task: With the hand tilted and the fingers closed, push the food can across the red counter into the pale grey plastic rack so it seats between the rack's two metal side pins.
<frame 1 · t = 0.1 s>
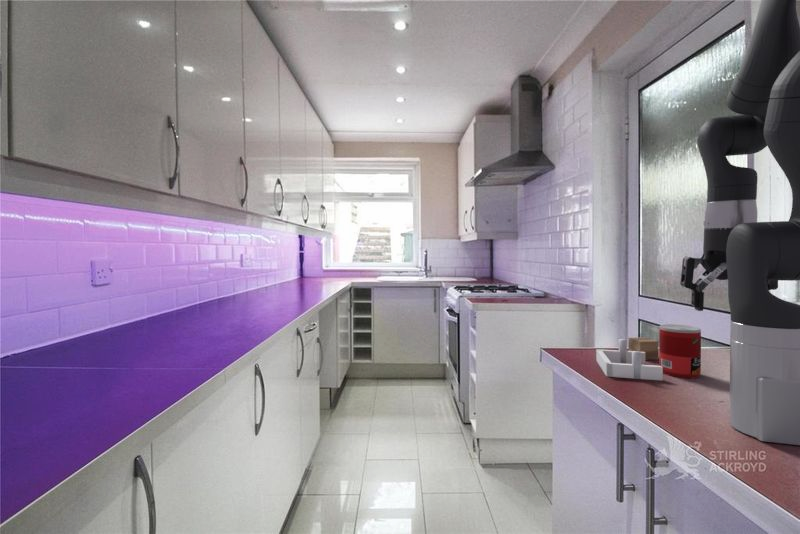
hand: (725, 311, 74), 17 cm above the worktop, tool pointing down, fingers open, 8 cm apart
canned food: (679, 374, 91), on the worktop
walnut block: (643, 357, 106), on the worktop
rack: (629, 369, 95), on the worktop
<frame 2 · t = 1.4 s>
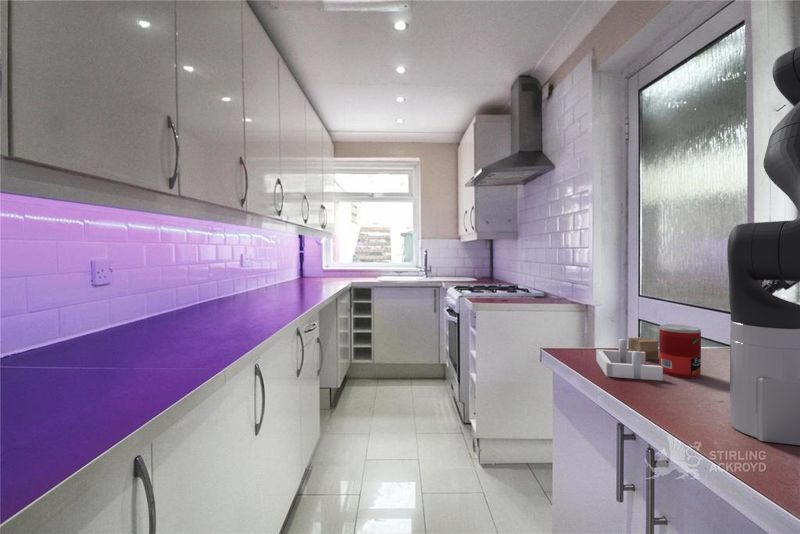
hand: (748, 297, 87), 18 cm above the worktop, tool tilted 45°, fingers open, 5 cm apart
nothing on the worktop moved.
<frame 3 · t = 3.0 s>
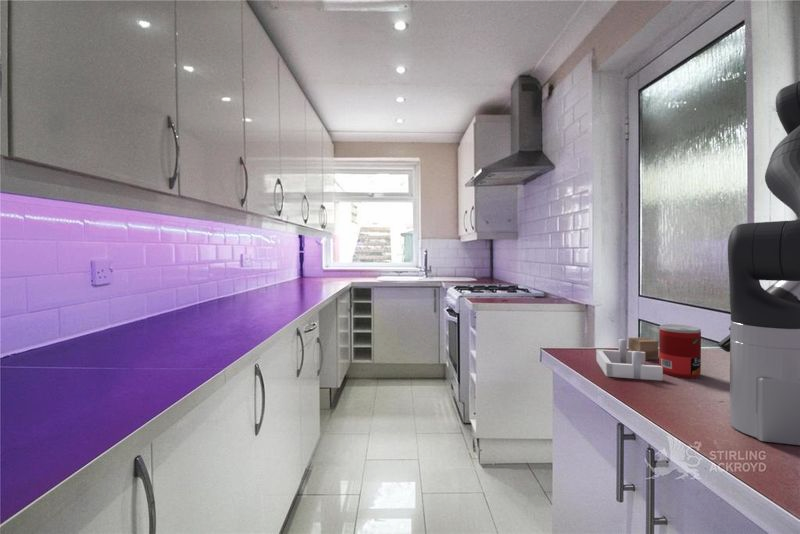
hand: (722, 348, 89), 6 cm above the worktop, tool tilted 45°, fingers closed
nothing on the worktop moved.
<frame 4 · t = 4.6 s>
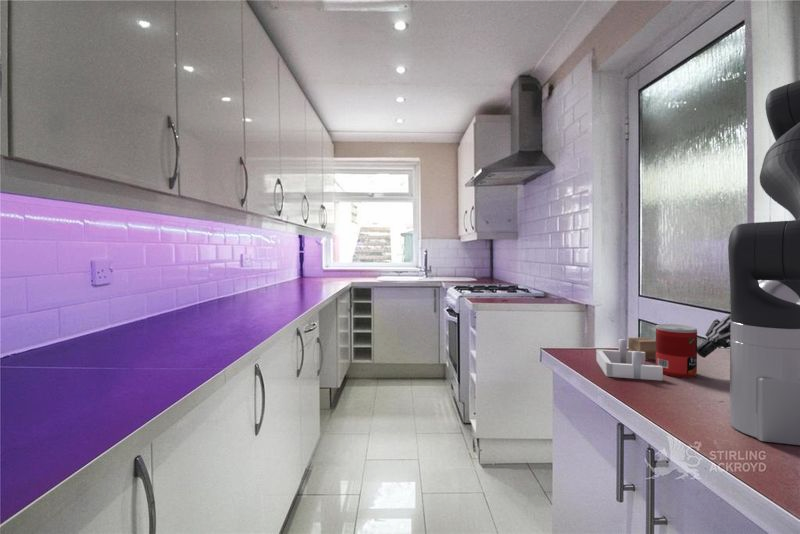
hand: (698, 354, 90), 5 cm above the worktop, tool tilted 45°, fingers closed
canned food: (675, 373, 92), on the worktop, touching gripper
everything else where it was.
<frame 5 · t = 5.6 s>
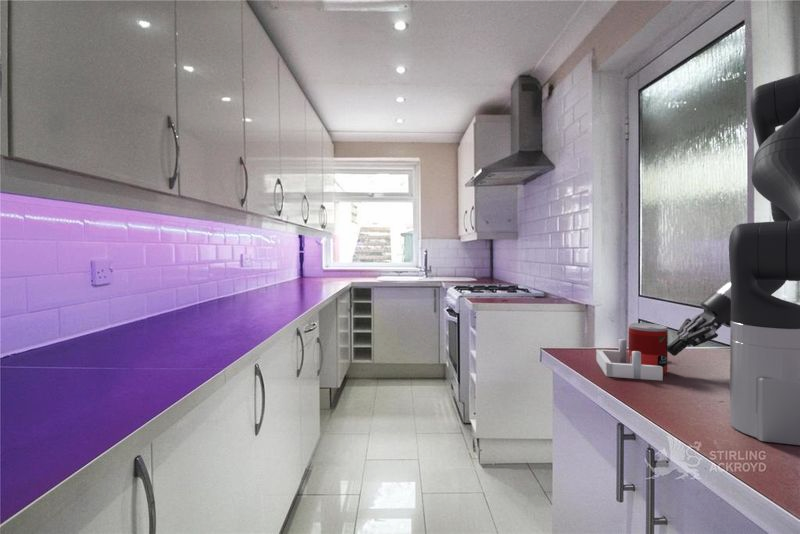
hand: (669, 352, 92), 5 cm above the worktop, tool tilted 45°, fingers closed
canned food: (647, 371, 94), on the worktop, touching gripper
everything else where it was.
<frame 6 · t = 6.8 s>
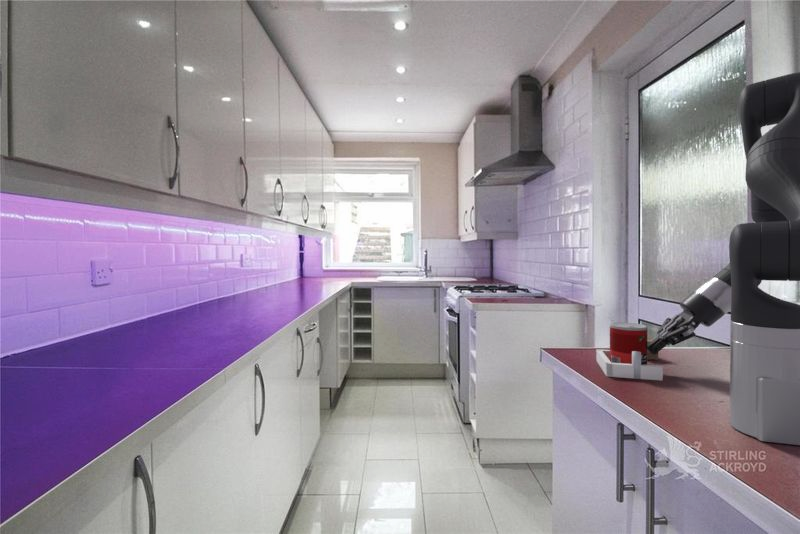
hand: (649, 351, 93), 5 cm above the worktop, tool tilted 45°, fingers closed
canned food: (628, 370, 95), on the worktop, touching gripper
everything else where it was.
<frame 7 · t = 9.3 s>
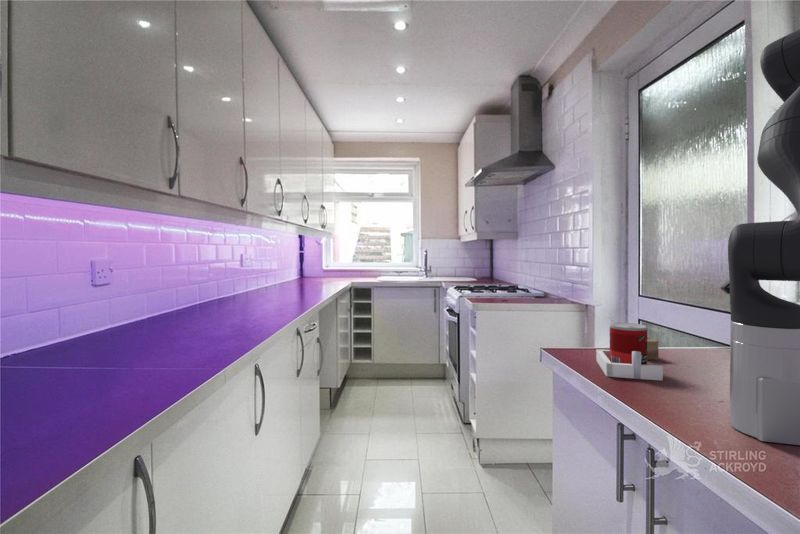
hand: (725, 291, 88), 20 cm above the worktop, tool tilted 45°, fingers closed
canned food: (628, 370, 95), on the worktop
everything else where it was.
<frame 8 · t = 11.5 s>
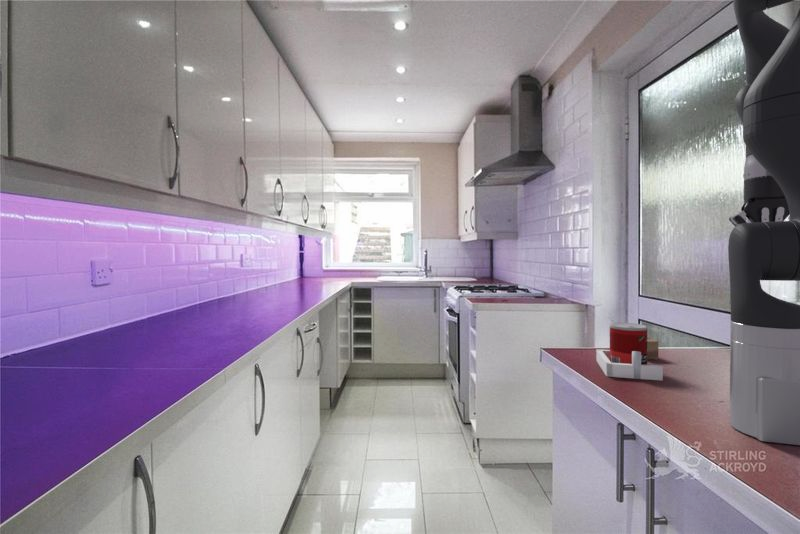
hand: (766, 258, 81), 27 cm above the worktop, tool pointing down, fingers closed
nothing on the worktop moved.
at the end: canned food inside the target area (0.6 cm from its centre), on the worktop; canned food tilted 0° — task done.
